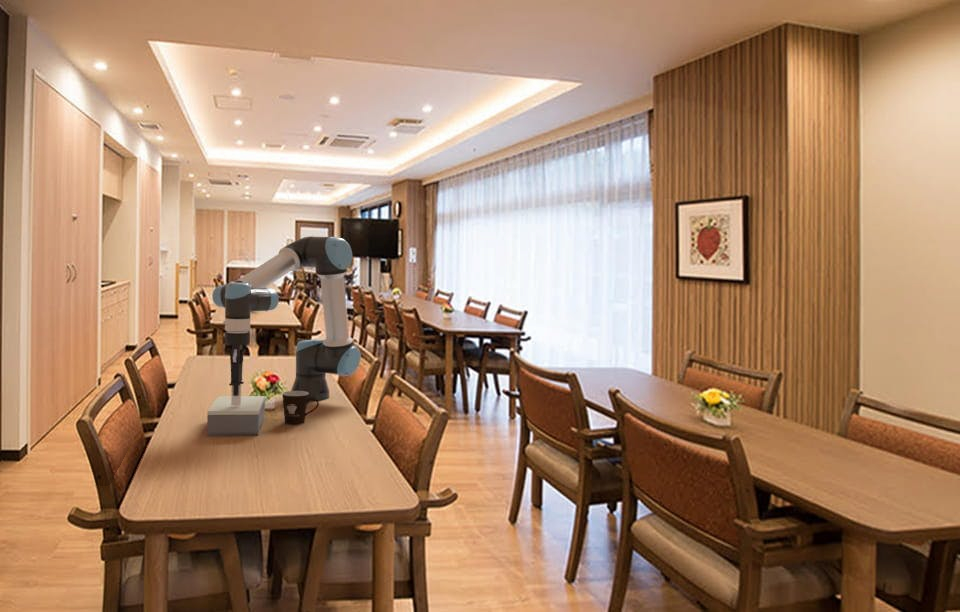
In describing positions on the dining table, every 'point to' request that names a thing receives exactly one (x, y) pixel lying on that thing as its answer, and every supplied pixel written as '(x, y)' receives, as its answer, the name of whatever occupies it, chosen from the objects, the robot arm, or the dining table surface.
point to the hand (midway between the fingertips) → (236, 405)
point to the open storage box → (235, 424)
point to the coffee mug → (296, 406)
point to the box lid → (247, 407)
